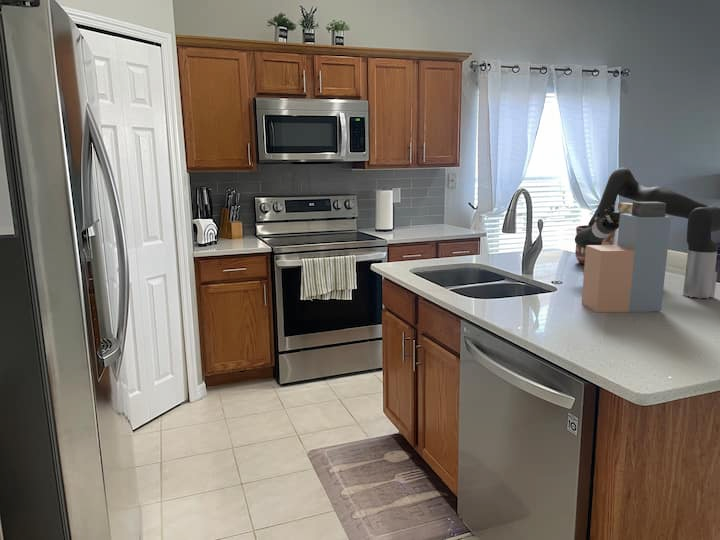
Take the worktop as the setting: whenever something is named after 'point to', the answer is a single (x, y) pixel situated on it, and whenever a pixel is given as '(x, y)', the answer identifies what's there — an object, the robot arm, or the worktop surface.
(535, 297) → the worktop surface
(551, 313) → the worktop surface
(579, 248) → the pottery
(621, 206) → the mallet
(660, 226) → the step stand
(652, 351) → the worktop surface
